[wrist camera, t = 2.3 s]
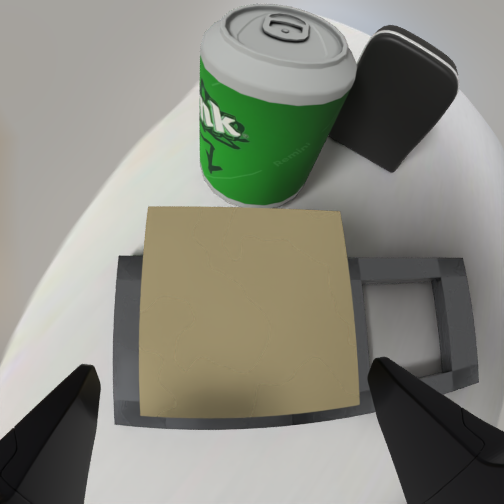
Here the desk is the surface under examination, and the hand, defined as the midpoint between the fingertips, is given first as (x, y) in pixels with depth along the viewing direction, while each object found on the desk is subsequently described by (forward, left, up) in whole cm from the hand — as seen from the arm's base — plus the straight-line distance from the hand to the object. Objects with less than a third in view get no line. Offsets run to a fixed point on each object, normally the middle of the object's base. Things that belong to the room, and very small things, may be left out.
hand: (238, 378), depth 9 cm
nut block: (+2, 0, -9) cm, 9 cm away
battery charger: (+18, -12, -9) cm, 23 cm away
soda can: (+14, -2, -9) cm, 17 cm away
